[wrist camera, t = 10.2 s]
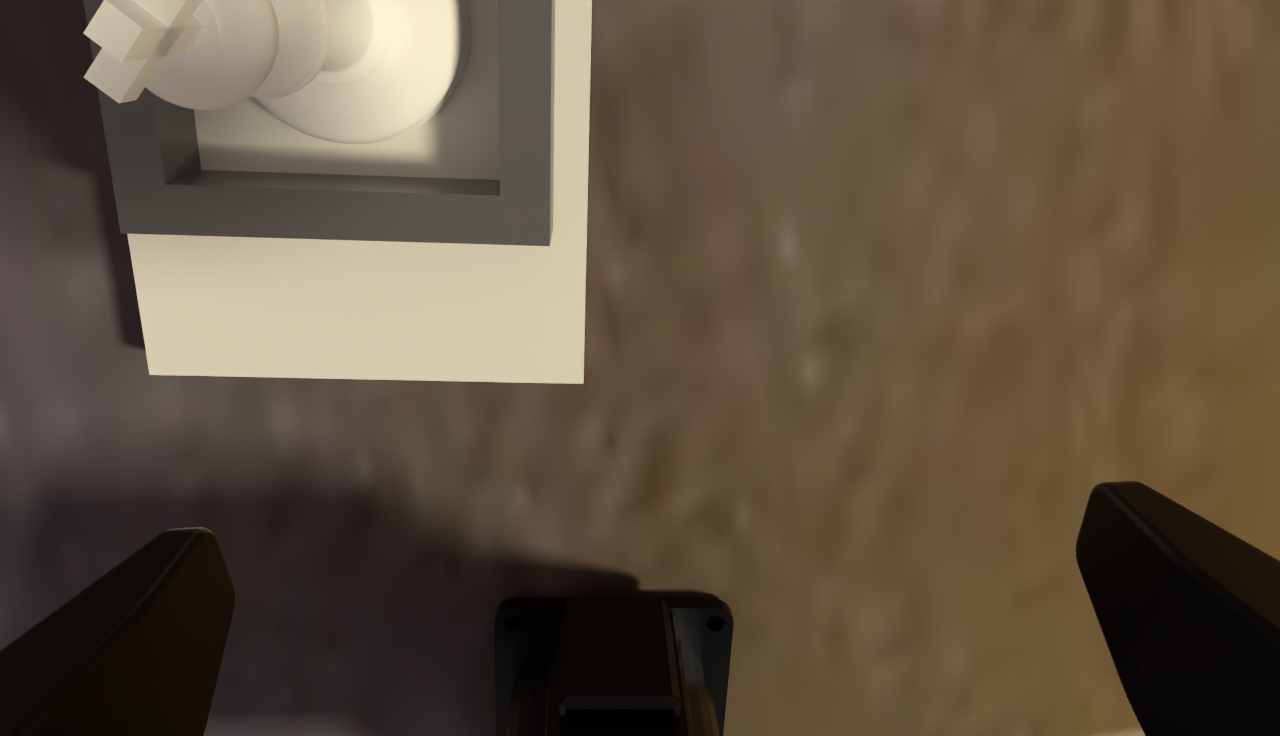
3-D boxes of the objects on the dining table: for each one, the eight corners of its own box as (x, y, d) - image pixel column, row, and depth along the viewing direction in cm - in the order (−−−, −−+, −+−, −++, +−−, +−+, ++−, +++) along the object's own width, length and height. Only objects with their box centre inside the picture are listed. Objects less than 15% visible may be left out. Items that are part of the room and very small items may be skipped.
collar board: (583, 365, 23) (582, 414, 20) (171, 356, 23) (111, 405, 20) (601, -431, 17) (603, -514, 15) (48, -472, 17) (-60, -568, 14)
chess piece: (176, 33, 19) (-229, 58, 10) (314, -175, 18) (3, -382, 8) (379, 190, 20) (197, 346, 11) (519, 6, 19) (450, 3, 10)
